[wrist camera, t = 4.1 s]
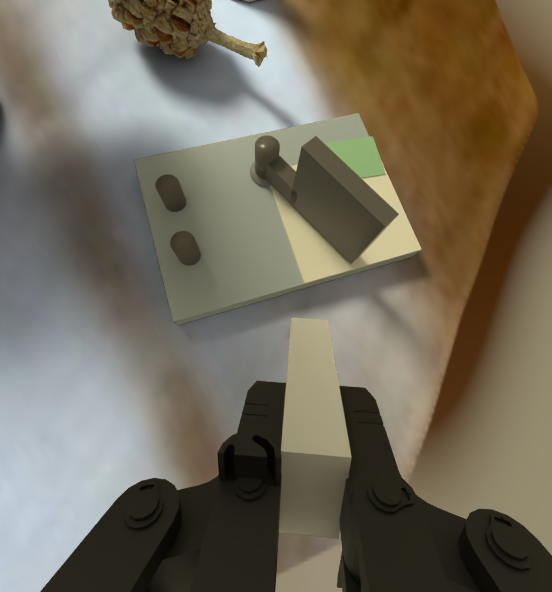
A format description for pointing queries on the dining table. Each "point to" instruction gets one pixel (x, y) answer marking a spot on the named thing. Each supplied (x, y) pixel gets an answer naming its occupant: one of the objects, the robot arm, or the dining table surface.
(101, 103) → the dining table surface
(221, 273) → the board
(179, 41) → the pine cone
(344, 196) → the gate
